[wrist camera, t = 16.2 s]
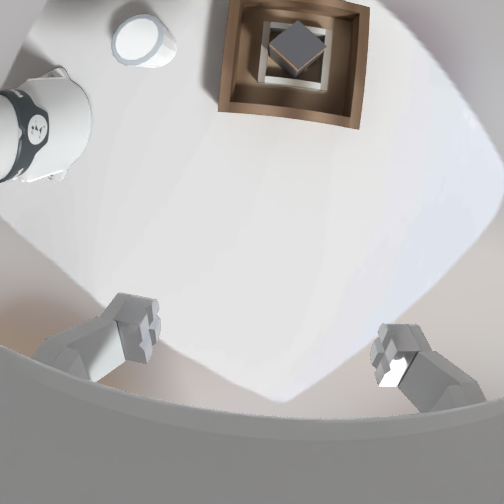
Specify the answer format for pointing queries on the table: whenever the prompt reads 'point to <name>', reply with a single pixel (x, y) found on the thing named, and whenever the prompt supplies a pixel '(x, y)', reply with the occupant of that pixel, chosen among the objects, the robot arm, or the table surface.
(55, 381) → the robot arm
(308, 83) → the walnut box
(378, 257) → the table surface
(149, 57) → the white cup
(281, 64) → the dark grey banded block
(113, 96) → the table surface
